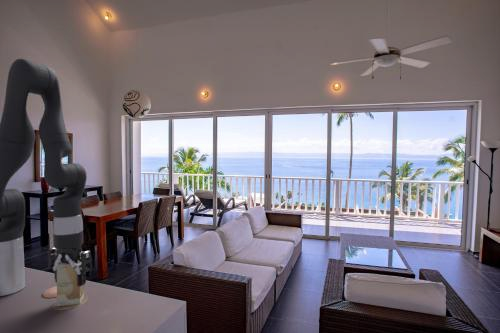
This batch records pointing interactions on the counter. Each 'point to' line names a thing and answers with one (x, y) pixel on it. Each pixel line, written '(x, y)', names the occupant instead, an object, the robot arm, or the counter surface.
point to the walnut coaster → (70, 305)
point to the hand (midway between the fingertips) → (70, 283)
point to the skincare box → (68, 285)
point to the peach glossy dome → (50, 292)
